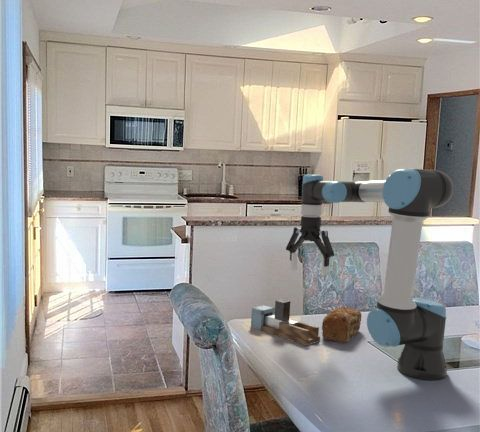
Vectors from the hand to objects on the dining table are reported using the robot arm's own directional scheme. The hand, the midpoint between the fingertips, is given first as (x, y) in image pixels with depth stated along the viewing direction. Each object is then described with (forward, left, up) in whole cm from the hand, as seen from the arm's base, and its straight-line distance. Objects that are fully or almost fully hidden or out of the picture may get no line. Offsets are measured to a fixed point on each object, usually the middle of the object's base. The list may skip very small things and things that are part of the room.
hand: (308, 272), depth 211 cm
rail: (+2, +8, -24) cm, 25 cm away
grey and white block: (+4, +9, -22) cm, 24 cm away
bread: (-5, -13, -24) cm, 28 cm away
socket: (+12, +12, -24) cm, 29 cm away
